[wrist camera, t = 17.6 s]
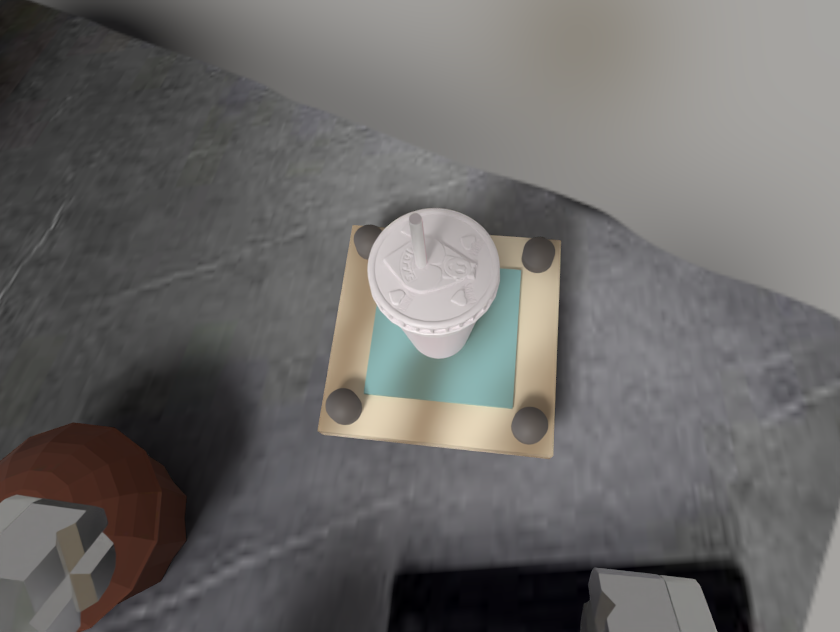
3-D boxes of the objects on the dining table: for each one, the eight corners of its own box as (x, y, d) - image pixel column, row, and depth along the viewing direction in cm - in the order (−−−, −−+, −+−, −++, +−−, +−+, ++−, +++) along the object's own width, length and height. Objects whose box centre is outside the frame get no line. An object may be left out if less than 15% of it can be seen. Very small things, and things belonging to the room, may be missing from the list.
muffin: (149, 405, 41) (58, 368, 32) (243, 527, 38) (173, 525, 29) (3, 528, 39) (-140, 527, 30) (90, 668, 36) (-40, 717, 27)
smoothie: (397, 277, 38) (366, 145, 25) (496, 289, 38) (517, 160, 24) (380, 372, 36) (335, 283, 23) (484, 387, 36) (499, 303, 22)
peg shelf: (332, 441, 40) (313, 427, 34) (362, 254, 44) (349, 216, 39) (542, 464, 38) (556, 453, 33) (551, 268, 43) (564, 231, 38)
